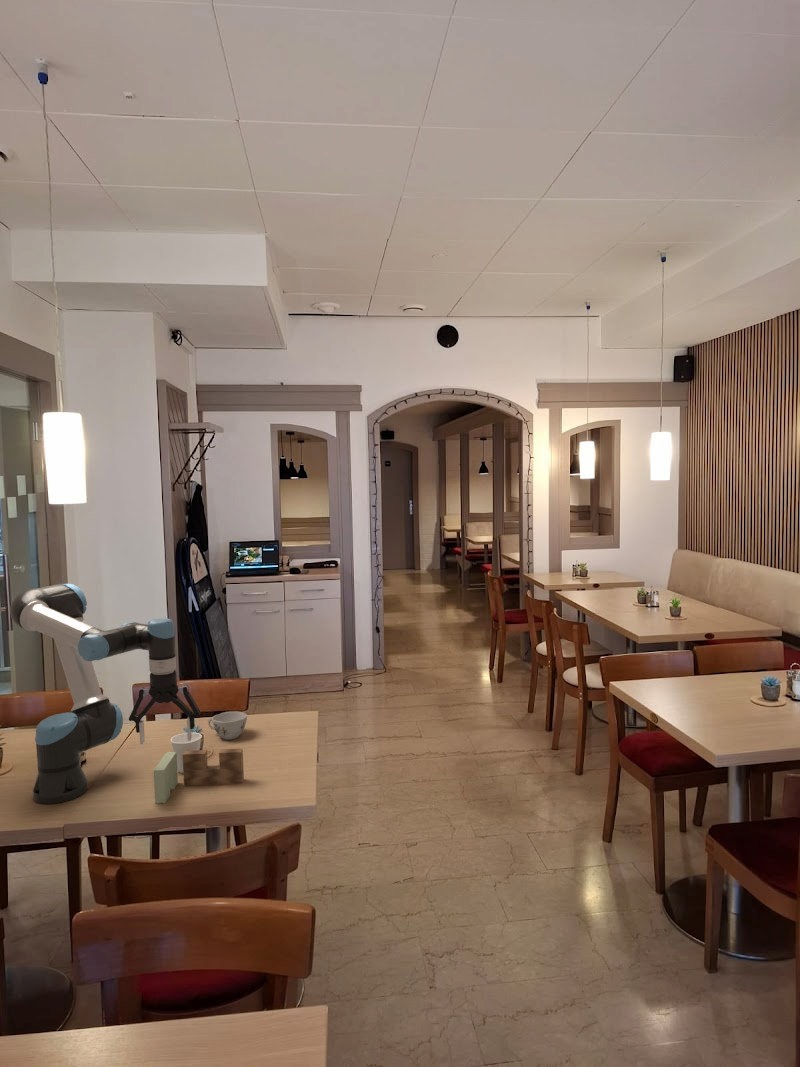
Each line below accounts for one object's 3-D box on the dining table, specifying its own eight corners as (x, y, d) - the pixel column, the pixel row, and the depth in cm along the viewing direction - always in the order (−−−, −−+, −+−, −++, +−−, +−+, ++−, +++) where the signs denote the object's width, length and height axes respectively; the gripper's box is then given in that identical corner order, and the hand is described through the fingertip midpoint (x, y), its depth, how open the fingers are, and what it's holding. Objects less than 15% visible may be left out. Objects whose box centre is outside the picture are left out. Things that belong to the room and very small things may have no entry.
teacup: (253, 732, 266) (252, 711, 265) (238, 744, 254) (237, 722, 253) (217, 729, 269) (216, 709, 269) (200, 741, 257) (199, 720, 256)
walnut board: (184, 785, 220) (182, 754, 219) (186, 781, 223) (184, 750, 222) (242, 783, 221) (240, 752, 220) (243, 779, 224) (242, 748, 223)
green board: (165, 802, 209) (163, 770, 208) (155, 803, 208) (153, 770, 208) (177, 782, 223) (176, 751, 222) (168, 782, 222) (166, 752, 222)
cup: (194, 777, 226) (192, 744, 225) (166, 775, 228) (164, 742, 227) (208, 765, 236) (207, 732, 235) (181, 763, 238) (180, 731, 237)
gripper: (115, 677, 204) (119, 748, 205) (204, 672, 207) (207, 742, 209) (122, 670, 211) (125, 739, 213) (207, 665, 215) (210, 733, 217)
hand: (166, 741), depth 211 cm, fingers open, 13 cm apart
